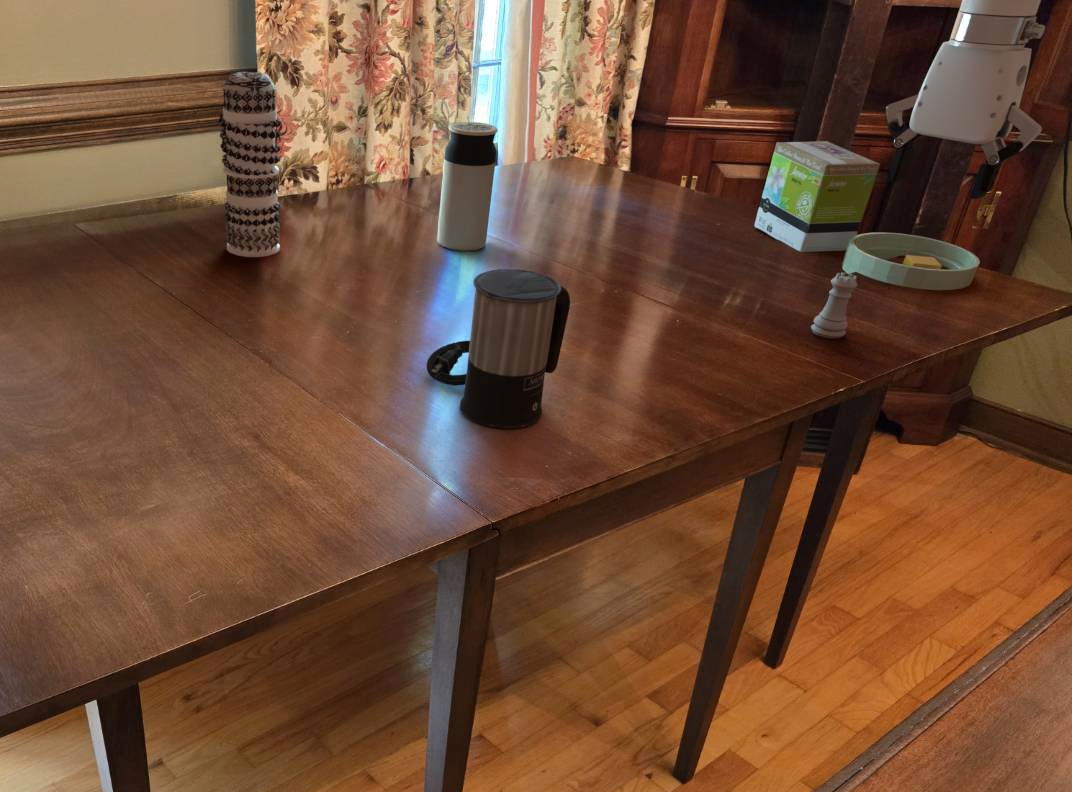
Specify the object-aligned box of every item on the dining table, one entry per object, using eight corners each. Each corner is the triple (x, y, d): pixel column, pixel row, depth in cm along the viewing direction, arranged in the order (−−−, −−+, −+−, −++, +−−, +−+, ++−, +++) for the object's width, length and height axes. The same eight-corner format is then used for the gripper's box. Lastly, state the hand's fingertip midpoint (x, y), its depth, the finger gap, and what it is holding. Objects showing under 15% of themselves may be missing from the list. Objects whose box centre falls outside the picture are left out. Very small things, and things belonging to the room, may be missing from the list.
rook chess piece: (808, 324, 133) (826, 268, 128) (842, 329, 132) (862, 272, 127) (811, 336, 129) (830, 279, 125) (846, 341, 128) (867, 283, 124)
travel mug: (488, 252, 154) (502, 133, 143) (438, 250, 153) (449, 131, 143) (482, 237, 160) (496, 122, 150) (435, 235, 160) (445, 120, 150)
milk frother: (525, 438, 103) (546, 305, 94) (392, 404, 108) (401, 275, 100) (563, 388, 113) (585, 265, 105) (440, 359, 119) (451, 240, 110)
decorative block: (931, 292, 144) (942, 265, 142) (903, 289, 145) (913, 263, 142) (924, 283, 147) (934, 257, 145) (896, 280, 148) (906, 254, 146)
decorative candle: (260, 262, 146) (256, 82, 132) (212, 250, 150) (203, 74, 136) (294, 246, 152) (294, 74, 138) (247, 235, 156) (242, 66, 142)
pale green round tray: (988, 285, 149) (1000, 256, 147) (934, 309, 140) (946, 279, 137) (875, 253, 161) (885, 226, 158) (818, 272, 151) (827, 244, 149)
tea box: (750, 228, 170) (774, 139, 162) (801, 226, 172) (827, 139, 164) (798, 255, 158) (827, 162, 150) (852, 254, 160) (884, 161, 152)
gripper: (1088, 38, 105) (1024, 199, 114) (928, 22, 116) (882, 170, 125) (1061, 42, 101) (997, 209, 110) (898, 26, 112) (853, 178, 121)
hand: (936, 188), depth 118 cm, fingers open, 9 cm apart
